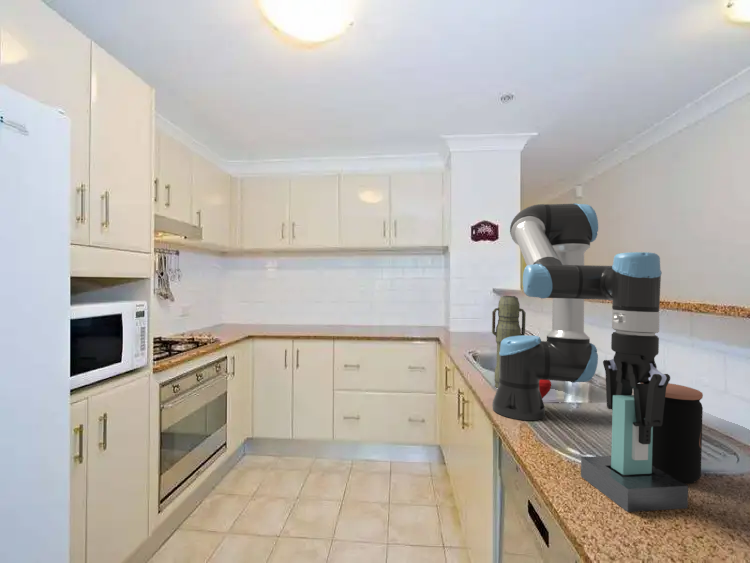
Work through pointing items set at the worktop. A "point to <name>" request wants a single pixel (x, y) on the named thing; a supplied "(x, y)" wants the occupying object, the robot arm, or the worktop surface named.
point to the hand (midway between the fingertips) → (631, 454)
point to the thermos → (506, 325)
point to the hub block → (635, 486)
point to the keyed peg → (626, 438)
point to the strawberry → (544, 387)
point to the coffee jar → (679, 435)
